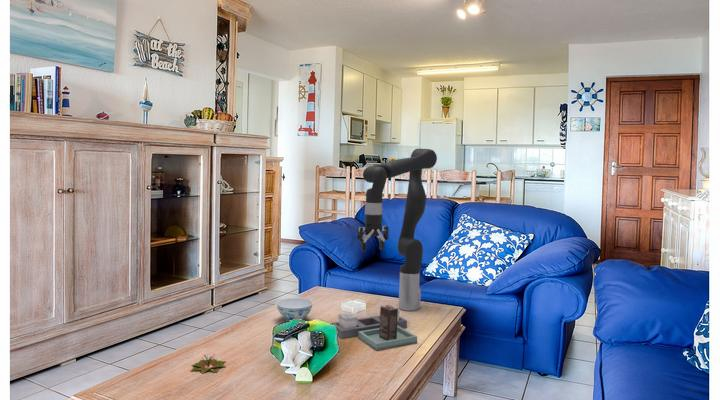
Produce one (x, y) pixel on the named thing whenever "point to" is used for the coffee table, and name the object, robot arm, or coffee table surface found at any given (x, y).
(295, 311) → the chinaware
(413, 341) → the tray
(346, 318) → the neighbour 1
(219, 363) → the lily flower
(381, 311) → the box
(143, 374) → the coffee table surface
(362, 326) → the slot holder
